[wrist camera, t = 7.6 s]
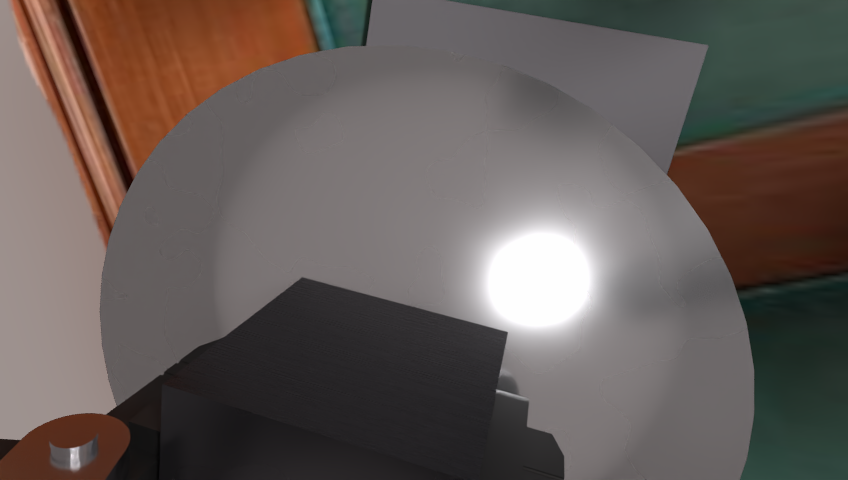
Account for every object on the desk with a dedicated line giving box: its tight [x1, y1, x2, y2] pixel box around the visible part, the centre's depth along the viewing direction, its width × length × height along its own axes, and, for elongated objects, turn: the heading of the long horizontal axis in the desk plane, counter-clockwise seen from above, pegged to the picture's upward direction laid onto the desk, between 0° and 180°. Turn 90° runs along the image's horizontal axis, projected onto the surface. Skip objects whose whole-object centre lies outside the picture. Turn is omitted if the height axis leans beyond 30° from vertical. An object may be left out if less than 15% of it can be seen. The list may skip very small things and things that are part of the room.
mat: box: [366, 0, 709, 175], centre depth 29 cm, size 18×16×1 cm
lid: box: [100, 45, 754, 480], centre depth 9 cm, size 13×13×5 cm
